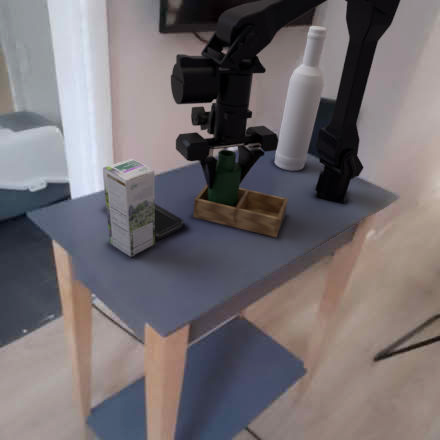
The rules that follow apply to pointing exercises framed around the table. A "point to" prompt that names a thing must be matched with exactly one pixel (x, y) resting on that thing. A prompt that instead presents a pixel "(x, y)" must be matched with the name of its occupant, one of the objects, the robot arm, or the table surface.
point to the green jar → (226, 179)
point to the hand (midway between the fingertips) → (224, 185)
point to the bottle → (301, 105)
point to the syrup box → (130, 206)
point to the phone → (165, 223)
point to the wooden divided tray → (244, 211)
